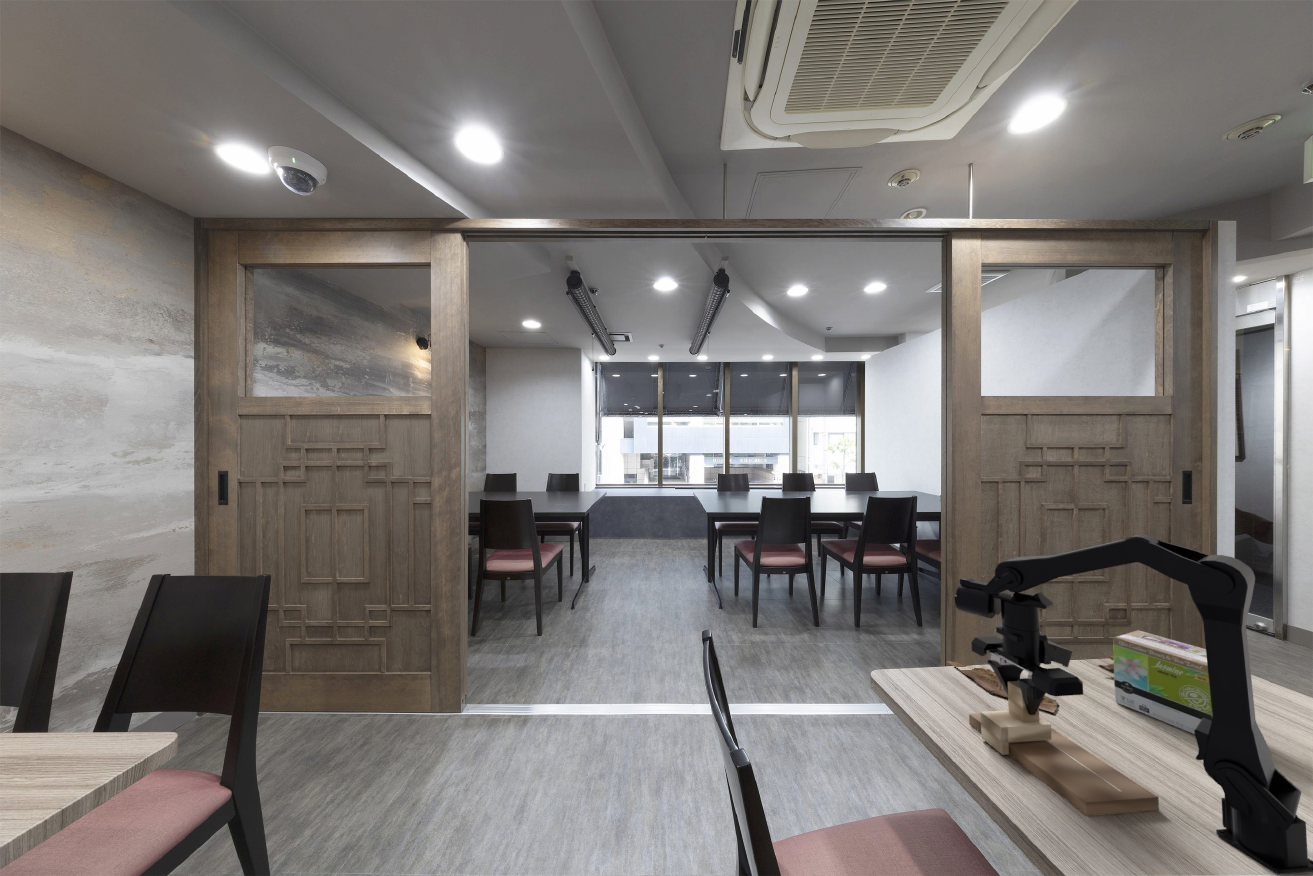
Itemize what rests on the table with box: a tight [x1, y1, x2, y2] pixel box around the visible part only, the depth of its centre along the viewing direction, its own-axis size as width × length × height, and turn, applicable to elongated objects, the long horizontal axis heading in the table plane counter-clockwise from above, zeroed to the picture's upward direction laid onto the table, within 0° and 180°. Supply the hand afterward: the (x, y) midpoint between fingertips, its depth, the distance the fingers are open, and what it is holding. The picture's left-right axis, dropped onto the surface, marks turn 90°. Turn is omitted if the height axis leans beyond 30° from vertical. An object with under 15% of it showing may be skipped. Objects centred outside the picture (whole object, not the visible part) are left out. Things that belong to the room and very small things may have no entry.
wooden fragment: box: [946, 660, 1059, 716], centre depth 110 cm, size 26×11×1 cm, turn 13°
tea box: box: [1112, 629, 1213, 735], centre depth 96 cm, size 15×10×15 cm, turn 21°
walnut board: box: [968, 712, 1160, 817], centre depth 83 cm, size 24×12×2 cm, turn 4°
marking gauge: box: [980, 681, 1052, 756], centre depth 87 cm, size 5×10×11 cm, turn 94°
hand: (1023, 709), depth 88 cm, fingers closed on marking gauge, 3 cm apart
